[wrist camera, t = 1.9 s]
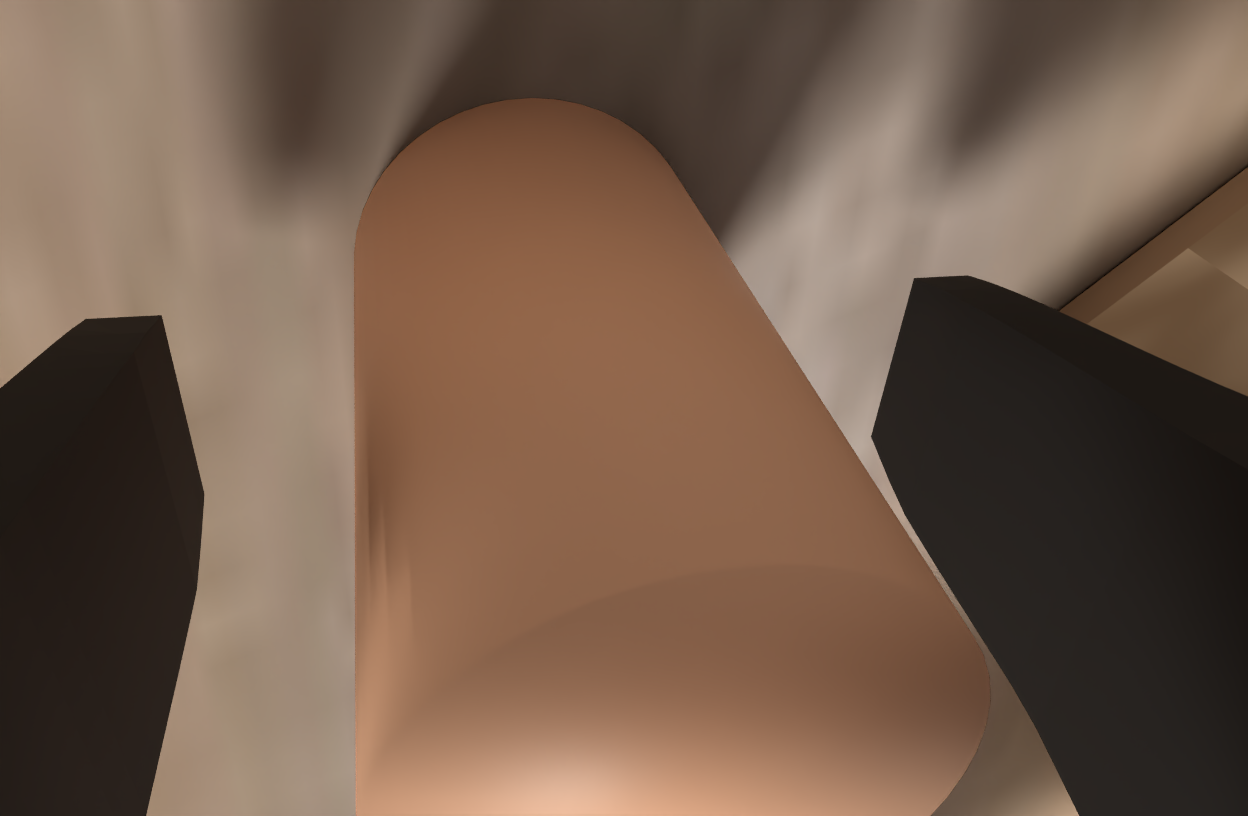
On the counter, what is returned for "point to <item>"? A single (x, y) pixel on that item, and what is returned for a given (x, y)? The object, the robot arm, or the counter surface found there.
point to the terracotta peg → (616, 512)
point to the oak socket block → (1184, 291)
